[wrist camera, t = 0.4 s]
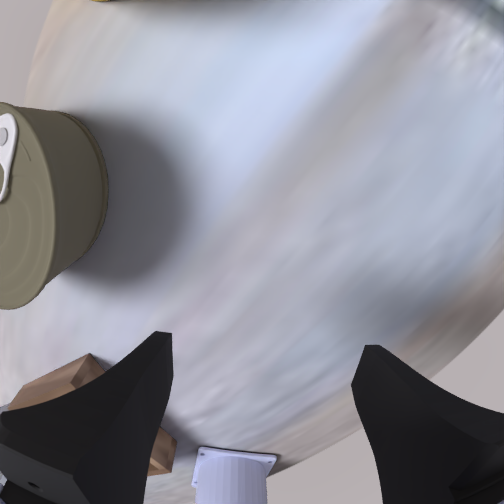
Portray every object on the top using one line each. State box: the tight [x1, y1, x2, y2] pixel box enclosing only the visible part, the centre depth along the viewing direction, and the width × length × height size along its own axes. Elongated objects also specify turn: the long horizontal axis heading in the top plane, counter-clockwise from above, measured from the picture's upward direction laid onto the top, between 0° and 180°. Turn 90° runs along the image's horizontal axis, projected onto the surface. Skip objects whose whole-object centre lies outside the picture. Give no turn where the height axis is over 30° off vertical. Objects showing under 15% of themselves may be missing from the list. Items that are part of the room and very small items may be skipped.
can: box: [0, 102, 108, 310], centre depth 15 cm, size 12×12×7 cm
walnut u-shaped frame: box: [7, 354, 177, 476], centre depth 23 cm, size 13×13×4 cm
